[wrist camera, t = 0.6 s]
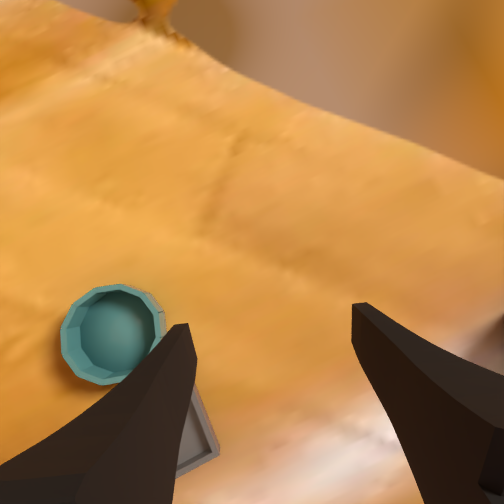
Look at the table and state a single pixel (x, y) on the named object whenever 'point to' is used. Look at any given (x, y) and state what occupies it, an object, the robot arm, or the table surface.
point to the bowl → (111, 332)
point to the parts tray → (196, 438)
